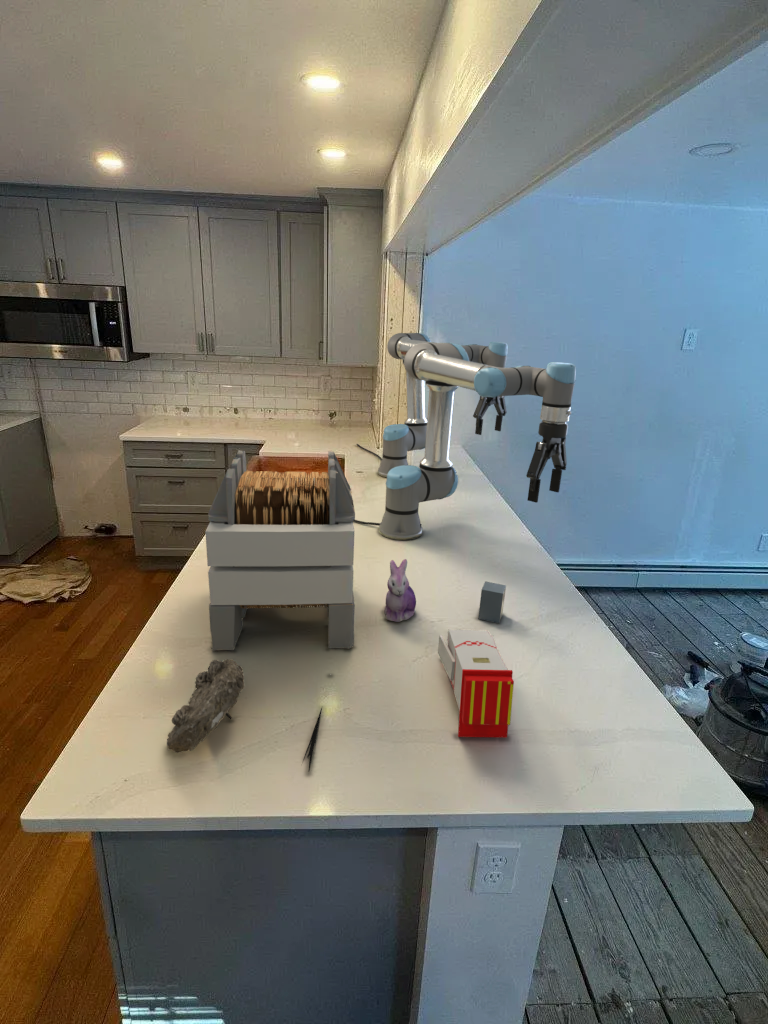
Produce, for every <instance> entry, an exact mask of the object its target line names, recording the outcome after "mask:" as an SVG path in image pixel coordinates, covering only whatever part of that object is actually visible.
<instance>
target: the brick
mask: <svg viewBox="0 0 768 1024" xmlns="http://www.w3.org/2000/svg"><path fill="white" fill-rule="evenodd" d="M506 590H507V585H506V584H501V583H497V582H491V581H484V583H483V585H482V588H481V590H480V600H479V609H478V620H482V621H487V622H491V623H495V624H500V622H501V620H502V617H503V614H504V613H503V612H504V605H505V599H506V592H507V591H506Z"/></svg>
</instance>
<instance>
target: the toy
mask: <svg viewBox="0 0 768 1024" xmlns="http://www.w3.org/2000/svg"><path fill="white" fill-rule="evenodd" d="M446 640H447V643H446V641H445V639H444V636H443V635H442V634H439V637H438V646H437V656H438V657H439V659H440V661H441V663H442V666H443V668H444V670H445V672H446V674H447V677H448V679H449V681H450V684H451V687H452V690H453V693H454V697H455V701H456V705H457V708H458V711H459V714H458V715H459V716H458V730H457V731H458V732H457V737H458V738H508V731H509V726H510V725H511V717H512V707H513V697H514V696H513V695H514V684H515V680H514V679H513V673H514V671H513V670H512V669H508V667H507V665H506V662H505V661H504V659H503V658H502V655H501V653H500V651H499V649H498V647H497V643H496V639H495V637H494V635H493V634H491V632H490V631H489V629H467V628H466V629H465V628H463V629H461V628H460V629H459V628H448V630H447V639H446Z"/></svg>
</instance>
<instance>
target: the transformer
mask: <svg viewBox="0 0 768 1024" xmlns="http://www.w3.org/2000/svg"><path fill="white" fill-rule="evenodd" d="M327 456H328V457H327V462H328V463H327V471H322V472H321V473H320V472H319V471H311V472H307V471H284V472H283V471H281V472H278V471H271V470H269V471H267V470H265V471H262V470H261V471H259V470H258V471H257V470H256V471H253V470H247V458H246V450H240V449H238V450H237V452H236V454H235V456H234V457H233V459H232V462H231V464H230V466H229V468H227V470H226V472H225V474H224V477H223V479H222V480H221V483H220V486H219V487H218V490H217V491H216V495H215V496H214V499H213V501H212V503H211V504H210V505H211V506H210V508H209V510H208V513H207V517H208V522H209V523H208V525H207V527H206V529H205V533H204V534H205V548H206V558H207V559H206V563H207V567H209V569H208V571H207V574H208V575H207V577H208V589H209V604H208V615H209V630H210V634H211V647H210V649H211V651H212V652H214V651H215V652H218V651H234V649H235V647H236V645H237V643H238V641H239V638H240V635H241V633H242V630H243V619H245V618H246V614H247V609H249V610H250V609H273V608H274V609H276V608H277V609H280V608H281V609H293V608H294V609H296V608H298V609H302V608H309V609H310V608H315V609H316V608H327V637H328V638H327V639H328V640H327V641H328V649H349V650H350V649H352V648H353V647H354V646H355V645H354V643H355V607H356V606H355V597H354V559H355V558H354V555H355V526H354V525H355V524H354V522H353V521H354V520H356V511H355V505H354V499H353V493H352V487H351V486H350V484H349V481H348V479H347V477H346V475H345V473H344V471H343V469H342V467H341V464H340V462H339V459H338V458H337V455H336V453H335V452H334V451H330V450H329V451H327Z"/></svg>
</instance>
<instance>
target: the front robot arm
mask: <svg viewBox="0 0 768 1024" xmlns="http://www.w3.org/2000/svg"><path fill="white" fill-rule="evenodd" d="M460 345H461V344H458V343H452V342H434V343H420V344H417V345H414V346H413V347H411V348H410V349H409V350H408V352H407V353H406V355H405V359H404V365H403V366H404V370H405V372H406V371H407V373H408V374H409V375H410V376H411V377H412V378H415V379H419V380H423V381H425V386H426V387H427V388H428V389H429V392H428V404H427V405H428V406H427V418H426V419H427V430H426V444H425V448H424V457H423V458H422V459H421V460H420V461H419V466H417V465H412V464H408V466H405V465H403V466H397V467H394V468H392V469H391V470H390V471H389V472H388V474H387V478H386V479H385V504H384V505H385V507H384V508H385V509H384V513H383V515H382V519H381V522H373V521H371V522H370V521H361V520H358V519H355V520H354V521H353V523H356V524H361V525H367V526H368V525H369V526H378V533H379V534H380V535H381V536H382V537H385V538H387V539H389V540H395V541H410V540H415V539H418V538H420V537H421V536H422V535H423V525H422V523H421V518H420V515H419V507H420V506H419V505H420V503H424V502H430V501H437V500H443V499H445V498H450V497H451V496H452V495H453V494H454V493H455V492H456V490H457V488H458V484H459V476H458V474H457V470H456V468H455V467H454V465H453V462H452V461H451V460H450V449H451V438H452V428H453V427H452V426H453V417H454V404H455V395H456V393H455V392H456V391H457V389H458V388H463V389H466V390H471V391H474V392H476V393H477V395H479V397H480V396H483V397H498V396H505V397H508V396H509V397H511V396H512V397H513V396H536V397H541V398H542V402H541V409H540V417H539V419H540V421H539V423H538V424H539V425H538V431H537V433H538V435H539V436H541V437H542V440H541V441H536V443H535V448H534V451H533V454H532V457H531V461H530V463H529V466H528V469H527V472H526V475H525V476H526V478H528V479H529V485H528V493H527V501H529V502H532V503H536V504H537V503H538V502H539V495H540V490H541V489H540V487H541V481H542V480H541V479H542V478H541V476H542V474H543V471H544V469H545V467H546V465H547V463H548V460H550V459H551V462H552V465H553V468H552V469H551V475H550V480H549V481H550V483H549V490H548V491H550V492H554V493H560V489H561V488H560V487H561V482H562V476H563V471H566V470H567V465H568V464H567V449H566V443H567V435H568V430H569V423H568V422H569V421H570V416H571V415H572V411H571V408H572V400H573V396H574V395H573V394H574V389H575V384H576V381H577V380H576V374H577V367H576V365H575V364H574V363H571V362H561V361H560V362H559V361H558V362H557V361H552V362H549V363H548V364H547V365H546V368H542V367H535V366H531V365H516V366H514V367H513V366H512V367H511V366H510V367H505V368H500V367H494V366H489V365H485V364H480V363H475V362H471V361H469V358H468V355H467V352H465V349H464V348H463V347H462V346H460Z"/></svg>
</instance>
